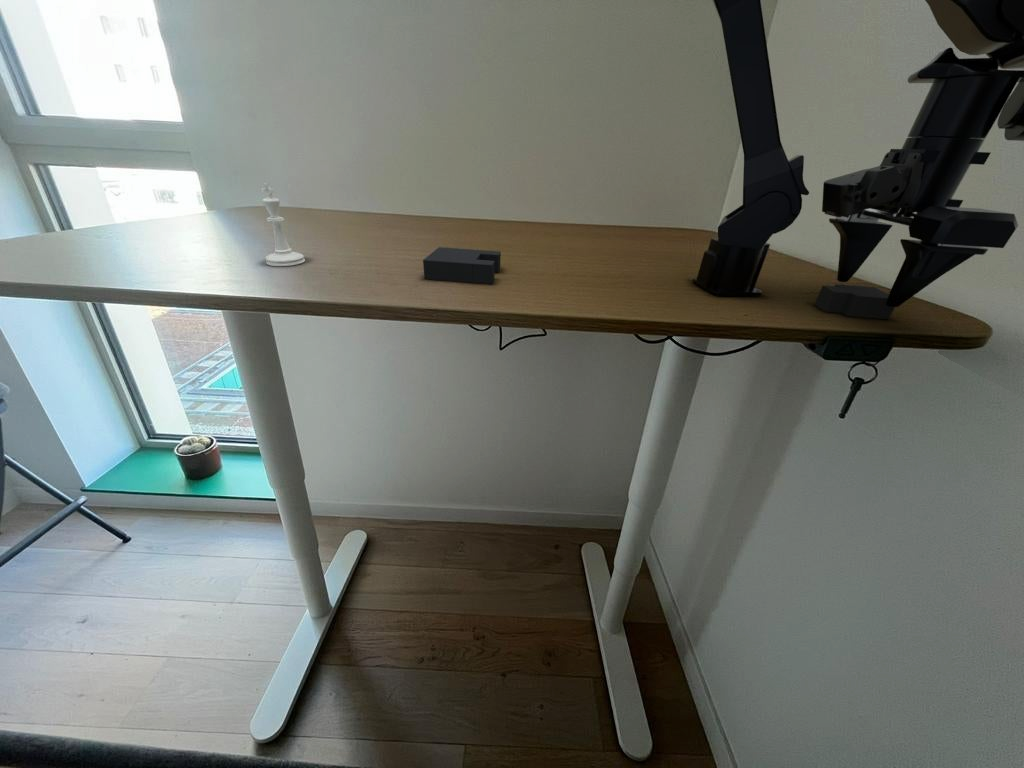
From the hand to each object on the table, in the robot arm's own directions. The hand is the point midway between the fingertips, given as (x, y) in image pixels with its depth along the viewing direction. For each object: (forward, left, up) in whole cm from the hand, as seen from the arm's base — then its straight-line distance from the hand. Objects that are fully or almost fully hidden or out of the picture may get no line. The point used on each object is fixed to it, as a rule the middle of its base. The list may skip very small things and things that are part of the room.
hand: (864, 292), depth 47 cm
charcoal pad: (+47, -15, -2) cm, 49 cm away
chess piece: (+72, -21, -2) cm, 75 cm away
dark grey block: (0, 0, -2) cm, 2 cm away
